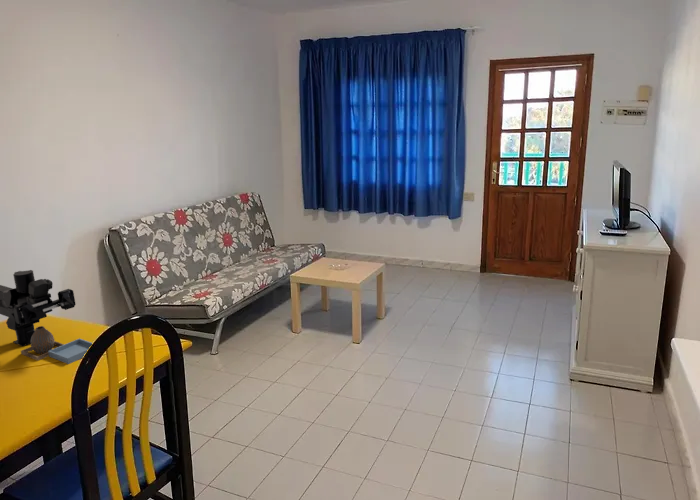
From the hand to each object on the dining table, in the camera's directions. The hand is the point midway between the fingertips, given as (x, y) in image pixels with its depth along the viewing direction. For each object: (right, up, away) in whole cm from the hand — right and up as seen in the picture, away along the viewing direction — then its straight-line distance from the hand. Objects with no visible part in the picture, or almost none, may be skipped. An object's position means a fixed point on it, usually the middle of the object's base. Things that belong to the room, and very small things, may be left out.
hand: (60, 310), depth 167 cm
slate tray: (+1, -15, +7) cm, 17 cm away
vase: (-11, -15, +9) cm, 21 cm away
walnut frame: (-11, -15, +9) cm, 20 cm away
